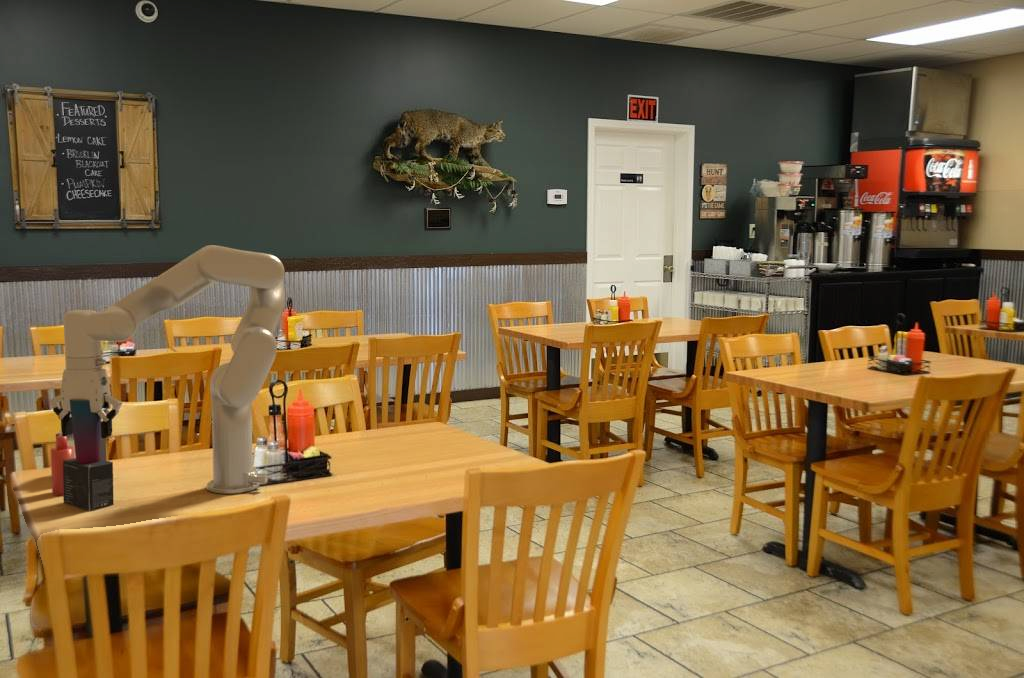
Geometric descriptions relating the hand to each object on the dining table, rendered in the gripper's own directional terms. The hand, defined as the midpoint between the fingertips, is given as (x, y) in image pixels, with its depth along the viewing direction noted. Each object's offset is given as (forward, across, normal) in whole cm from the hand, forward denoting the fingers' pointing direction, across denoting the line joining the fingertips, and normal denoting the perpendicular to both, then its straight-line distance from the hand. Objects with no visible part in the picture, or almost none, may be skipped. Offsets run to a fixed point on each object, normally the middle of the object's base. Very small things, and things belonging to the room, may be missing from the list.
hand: (87, 436), depth 206 cm
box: (+17, 0, 0) cm, 17 cm away
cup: (+6, 0, 0) cm, 6 cm away
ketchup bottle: (+16, +11, -7) cm, 21 cm away
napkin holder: (+16, +15, -21) cm, 31 cm away
